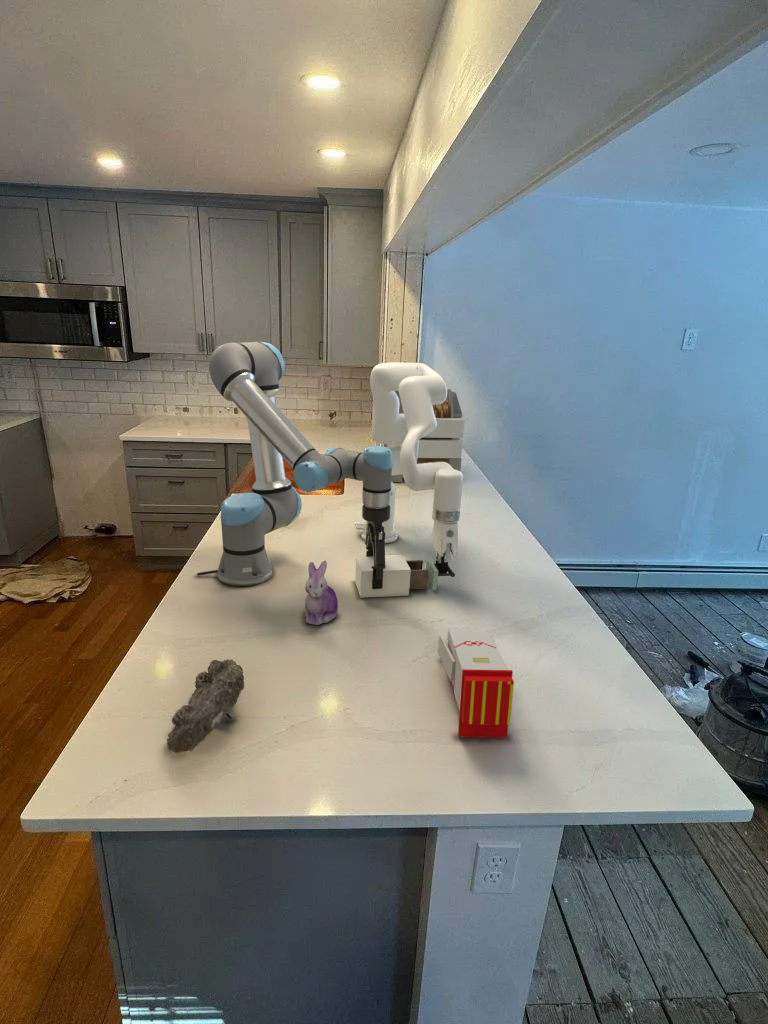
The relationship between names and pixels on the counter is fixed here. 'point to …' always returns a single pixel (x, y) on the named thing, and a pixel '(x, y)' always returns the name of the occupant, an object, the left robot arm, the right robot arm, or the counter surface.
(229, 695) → the fossil
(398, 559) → the open cream box
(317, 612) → the figurine
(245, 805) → the counter surface
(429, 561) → the drawer
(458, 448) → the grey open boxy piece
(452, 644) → the toy
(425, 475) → the right robot arm
